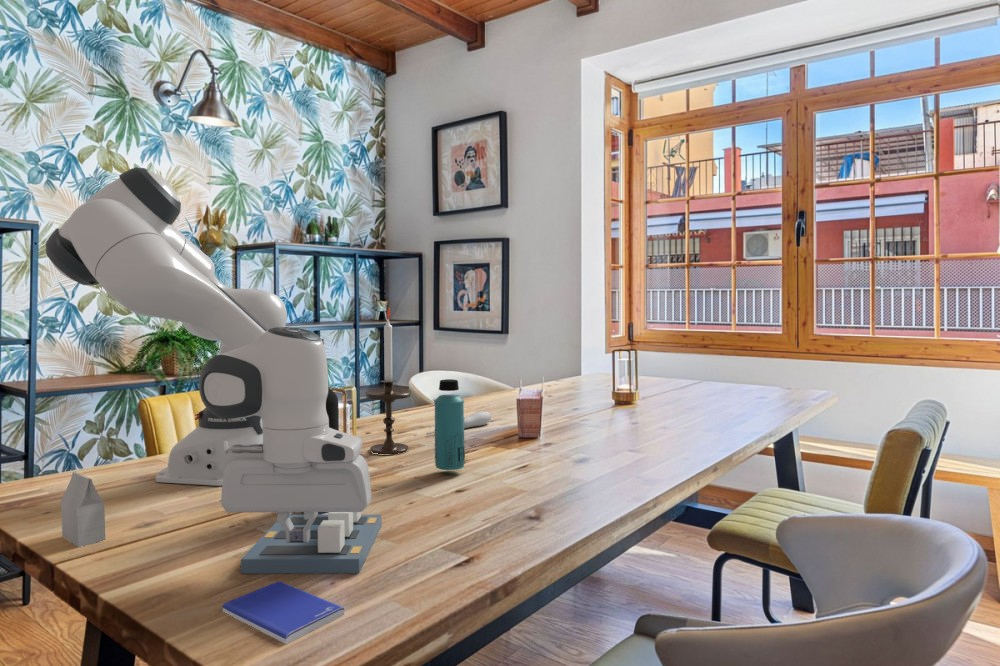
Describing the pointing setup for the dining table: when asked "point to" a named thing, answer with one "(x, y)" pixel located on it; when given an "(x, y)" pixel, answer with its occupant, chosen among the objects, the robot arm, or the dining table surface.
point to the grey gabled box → (82, 512)
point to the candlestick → (388, 397)
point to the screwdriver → (474, 420)
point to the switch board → (311, 550)
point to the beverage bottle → (449, 428)
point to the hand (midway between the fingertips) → (298, 541)
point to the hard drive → (283, 611)
